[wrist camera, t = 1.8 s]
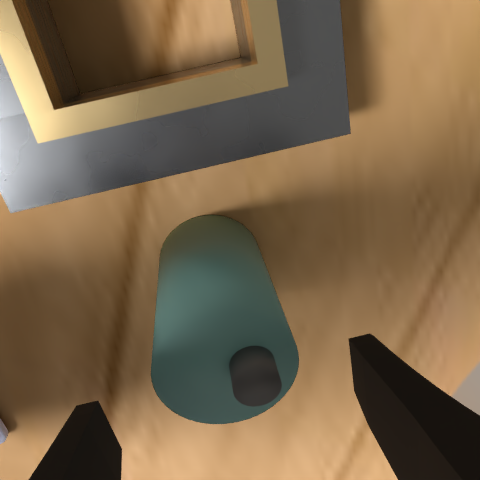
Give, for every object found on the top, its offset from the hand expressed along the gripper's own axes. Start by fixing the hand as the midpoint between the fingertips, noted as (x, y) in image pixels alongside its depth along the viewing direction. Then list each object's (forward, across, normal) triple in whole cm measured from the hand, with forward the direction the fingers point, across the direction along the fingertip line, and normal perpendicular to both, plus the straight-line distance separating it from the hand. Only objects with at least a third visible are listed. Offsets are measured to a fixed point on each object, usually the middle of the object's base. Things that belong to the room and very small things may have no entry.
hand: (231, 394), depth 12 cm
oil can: (+8, 0, 0) cm, 8 cm away
